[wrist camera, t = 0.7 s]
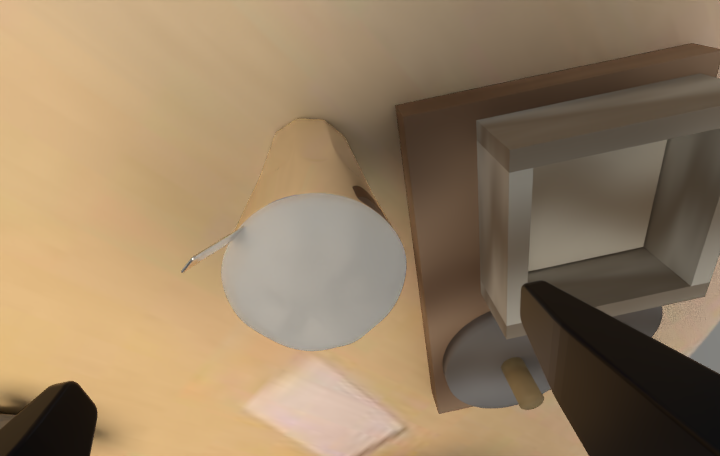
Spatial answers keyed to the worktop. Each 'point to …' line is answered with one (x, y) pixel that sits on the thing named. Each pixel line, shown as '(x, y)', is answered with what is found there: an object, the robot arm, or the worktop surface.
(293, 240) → the milkshake
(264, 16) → the worktop surface
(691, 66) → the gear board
